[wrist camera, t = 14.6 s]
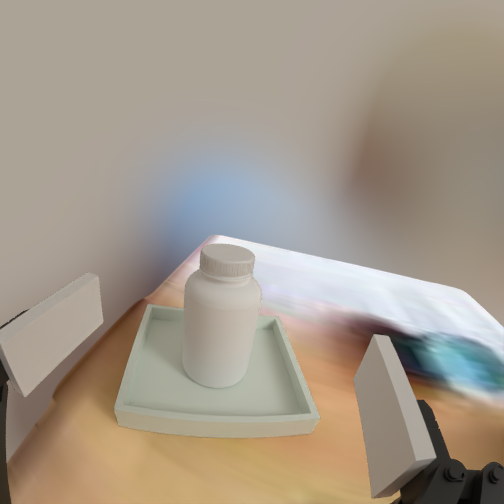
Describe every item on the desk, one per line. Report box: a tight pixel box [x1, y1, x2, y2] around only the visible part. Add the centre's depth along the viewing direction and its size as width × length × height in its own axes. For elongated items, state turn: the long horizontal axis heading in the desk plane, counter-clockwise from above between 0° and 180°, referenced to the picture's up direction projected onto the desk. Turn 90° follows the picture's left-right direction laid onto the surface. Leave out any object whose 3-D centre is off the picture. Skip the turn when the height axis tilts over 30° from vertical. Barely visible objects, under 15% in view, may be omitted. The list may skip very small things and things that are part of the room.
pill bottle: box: [182, 244, 262, 388], centre depth 29 cm, size 8×8×15 cm
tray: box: [114, 304, 320, 438], centre depth 31 cm, size 20×20×3 cm
